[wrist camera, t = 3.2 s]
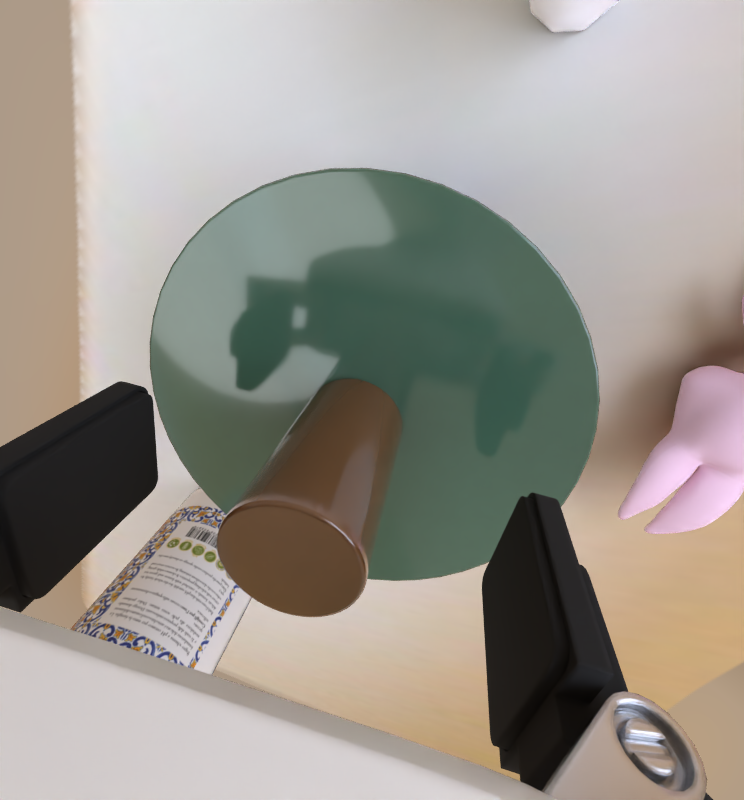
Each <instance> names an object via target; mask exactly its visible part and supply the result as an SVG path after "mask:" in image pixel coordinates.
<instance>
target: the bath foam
mask: <svg viewBox="0 0 744 800" xmlns="http://www.w3.org/2000/svg"><path fill="white" fill-rule="evenodd" d="M225 516H226V514H225V513H224V512H223V511H222V510H221V509H220V508H219V507H218V506H217V505H216V504H215V503H214V502H213V501H212V500H211V499H210V498H209V497H208V496H207V495H206V494H205V492H204V491H203V490H202V489H201V488H199V489H197V490H196V491H194V492H193V493H192V494H191V495H190V496H189V497H188V498H187V499H186V500H185V501H184V502H183V504H182V505H181V506H180V507H179V508H178V509H177V510H176V511H175V513H174V514H172V515H171V517H170V518H169V519H168V520H167V521H166V522H165V523H164V524H163V526H162V527H161V528H160V529H159V530H158V531H157V532H156V533H155V535H154V536H153V537H152V538H151V539H150V540H149V541H148V542H147V544H146V545H145V546H144V547H143V548H142V549H141V550H140V551H139V553H138V554H137V555H136V556H135V557H134V558H133V559H132V560H131V562H130V563H129V564H128V565H127V566H126V567H125V568H124V569H123V570H122V572H121V573H120V574H119V575H118V576H117V577H116V578H115V579H114V581H113V582H112V583H111V584H110V585H109V586H108V587H107V588H106V590H105V591H104V592H103V593H102V594H101V595H100V596H99V597H98V599H97V600H96V601H95V602H94V603H93V604H92V605H91V606H90V608H89V609H88V610H87V611H86V612H85V613H84V614H83V615H82V617H81V618H80V619H79V620H78V621H77V622H76V623H75V624H74V626H73V627H72V628H71V629H70V630H73V631H76V632H80V633H83V634H86V635H89V636H92V637H95V638H98V639H102V640H105V641H108V642H111V643H114V644H117V645H120V646H123V647H127V648H130V649H133V650H136V651H139V652H142V653H145V654H148V655H151V656H154V657H157V658H161V659H164V660H167V661H170V662H173V663H176V664H179V665H182V666H185V667H188V668H191V669H195V670H198V671H201V672H204V673H207V674H210V675H212V674H213V672H214V670H215V668H216V666H217V664H218V662H219V660H220V659H221V657H222V655H223V653H224V651H225V649H226V647H227V645H228V643H229V641H230V639H231V637H232V635H233V633H234V631H235V629H236V627H237V626H238V624H239V622H240V620H241V618H242V616H243V614H244V612H245V610H246V608H247V606H248V604H249V602H250V600H251V598H252V597H250V596H249V595H248V594H246V593H245V592H244V591H243V590H242V589H240V588H239V587H238V586H237V585H236V584H235V583H234V581H233V580H232V579H231V578H230V577H229V575H228V574H227V572H226V571H225V569H224V567H223V566H222V564H221V561H220V559H219V556H218V552H217V534H218V530H219V527H220V525H221V523H222V521H223V519H224V518H225Z"/></svg>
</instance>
